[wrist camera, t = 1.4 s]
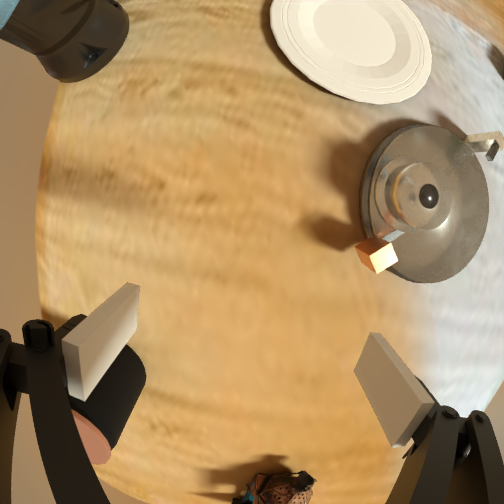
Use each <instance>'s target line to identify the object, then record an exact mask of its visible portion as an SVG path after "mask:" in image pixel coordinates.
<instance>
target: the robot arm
mask: <svg viewBox="0 0 504 504" xmlns="http://www.w3.org/2000/svg"><path fill="white" fill-rule="evenodd" d="M128 30H129V17H128V14H127V13H126V11H125V10H124V9H123V7H122V6H121V5H120V4H119V3H118V2H116V1H114V0H0V39H2V40H5V41H7V42H9V43H11V44H13V45H15V46H17V47H20V48H22V49H24V50H26V51H28V52H30V53H32V54H34V55H36V56H37V58H38V60H39V61H40V62H41V64H42V65H43V66H44V68H45V70H46V71H47V73H48V74H49V75H50V76H52V77H54V78H56V79H58V80H60V81H62V82H68V83H71V82H77V81H81V80H84V79H86V78H88V77H90V76H92V75H93V74H95V73H97V72H98V71H99V70H101V69H102V68H103V67H104V66H106V65H107V64H108V63H109V62H110V61H111V60H112V59H113V57H114V56H115V55H116V54H117V52H118V51H119V50H120V48H121V47H122V45H123V43H124V41H125V39H126V37H127V34H128ZM139 292H140V286H139V285H135V284H131V283H128V282H127V283H126V284H125V285H124V286H123V287H121V288H120V289H119V290H118V291H117V292H115V293H114V294H113V295H112V296H111V297H109V298H108V299H107V300H106V301H105V302H104V303H102V304H101V305H100V306H99V307H98V308H97V309H96V310H94V311H93V312H92V313H91V314H90V315H89V316H86V315H83V314H80V315H77V316H74V317H72V318H71V319H69V320H68V321H67V322H66V323H65V324H63V325H62V327H60V328H59V329H57V330H56V331H55V332H54V327H53V326H52V324H51V323H49V322H48V321H45V320H39V319H36V320H30V321H28V322H26V323H25V324H24V325H23V327H22V332H23V338H24V344H25V345H23V344H18V343H14V342H12V340H11V335H10V333H9V332H8V331H6V330H4V329H0V504H11V472H12V456H13V444H14V436H15V428H16V421H17V415H18V409H19V403H20V398H21V393H26V394H29V397H30V404H31V410H32V416H33V422H34V427H35V432H36V437H37V441H38V445H39V450H40V453H41V457H42V461H43V465H44V468H45V471H46V475H47V478H48V481H49V484H50V487H51V490H52V493H53V496H54V498H55V501H56V504H110V502H109V500H108V498H107V496H106V494H105V493H104V490H103V488H102V486H101V484H100V482H99V480H98V478H97V476H96V474H95V471H94V469H93V467H92V465H91V462H90V460H89V457H88V455H87V452H86V450H85V447H84V445H83V442H82V440H81V437H80V434H79V431H78V428H77V426H76V423H75V420H74V417H73V413H72V410H71V407H70V404H69V400H68V397H67V393H66V389H65V387H66V386H67V385H68V390H69V395H71V396H74V397H76V398H78V399H80V400H83V401H86V399H87V398H88V396H89V395H90V393H91V392H92V391H93V389H94V388H95V386H96V385H97V383H98V382H99V381H100V379H101V378H102V376H103V375H104V374H105V372H106V371H107V369H108V368H109V367H110V365H111V364H112V362H113V361H114V360H115V358H116V357H117V355H118V354H119V353H120V351H121V350H122V349H123V347H124V346H125V345H126V343H127V342H128V340H129V339H130V338H131V336H132V335H133V334H134V332H135V331H136V330H137V316H138V303H139ZM354 372H355V374H356V376H357V378H358V380H359V382H360V384H361V386H362V388H363V390H364V392H365V394H366V396H367V398H368V400H369V402H370V404H371V406H372V408H373V410H374V412H375V414H376V416H377V418H378V420H379V422H380V424H381V426H382V428H383V430H384V432H385V434H386V436H387V438H388V440H389V442H390V444H391V447H392V448H393V447H402V446H405V445H406V444H407V443H408V441H409V440H410V438H411V437H412V439H413V440H414V443H413V445H412V446H411V447H410V449H409V450H408V451H407V452H406V454H405V455H404V456H403V457H402V458H403V459H404V458H405V457H406V456H407V457H406V460H405V462H404V465H403V467H402V469H401V472H400V474H399V476H398V479H397V481H396V483H395V485H394V487H393V489H392V491H391V493H390V496H389V498H388V500H387V501H386V503H385V504H504V465H503V461H502V457H501V453H500V450H499V446H498V443H497V440H496V437H495V434H494V431H493V428H492V425H491V422H490V419H489V417H488V416H487V415H486V414H485V413H483V412H482V411H478V410H474V411H472V412H471V414H470V415H469V417H468V418H463V417H460V416H459V414H458V412H457V411H456V410H455V409H453V408H451V407H449V406H441V405H440V404H439V403H438V402H437V400H436V399H435V398H434V396H433V395H432V394H431V392H429V390H428V389H427V388H426V386H425V385H424V383H423V382H422V381H421V380H420V379H419V378H417V377H416V376H415V375H413V373H412V372H411V371H410V369H409V368H408V367H407V366H406V364H405V363H404V362H403V360H402V359H401V358H400V357H399V355H398V354H397V353H396V352H395V350H394V349H393V348H392V347H391V345H390V344H389V343H388V342H387V341H386V339H385V338H384V337H383V336H382V334H380V333H372V332H370V334H369V336H368V339H367V341H366V344H365V346H364V348H363V351H362V353H361V355H360V358H359V360H358V362H357V364H356V367H355V369H354ZM469 450H470V452H469V454H468V456H467V453H468V451H469Z"/></svg>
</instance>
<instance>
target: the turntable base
mask: <svg viewBox="0 0 504 504" xmlns="http://www.w3.org/2000/svg"><path fill="white" fill-rule="evenodd" d="M420 126H435V125H430V124H414V125H410V126H407V127H403V128H400V129H398V130H396V131H394V132H392V133H391V134H389V135H388V136H387V137H385V138H384V139H383V140H382V141H381V142H380V143H379V144H378V145H377V147H376V148H375V150H374V151H373V152H372V154H371V156H370V158H369V160H368V162H367V164H366V167H365V169H364V172H363V176H362V180H361V185H360V193H359V209H360V218H361V223H362V228H363V231H364V234H365V237H366V240H367V239H368V238H370V237H372V236H373V234H372V231H371V227H370V223H369V215H368V190H369V184H370V179H371V175H372V172H373V169H374V166H375V164H376V162H377V160H378V157H379V156H380V154H381V153H382V151H383V149H384V148H385V147H386V146H387V145H388V143H389V142H390V141H391V140H393V139H394V138H395V137H396V136H397V135H399V134H401V133H402V132H404V131H407V130H409V129H412V128H415V127H420ZM437 127H438V126H437ZM464 142H465V143H466V144H467V145H468V146H469V147H470V149H471V150H472V151H473V152H486V151H488V152H487V154H486V156H485V157H486V158H487V160H488V161H493V159H494V157H495V155H496V153H497V151H502V150H503V148H504V137H503V135H502V133H501V132H500V131H495V132H488V133H481V134H474V135H468V136H467V137H466V139H465V140H464ZM387 269H388V270H390V271H391V272H393V273H394V274H396V275H398V276H399V277H401V278H403V279H405V280H407V281H411V282H415V283H422V282H417V281H414V280H412V279H409V278H407V277H406V276H404V275H402V274H401V273H399V272H398V271H397V270H395V269H394V268H393V267H392V266H389V267H387Z"/></svg>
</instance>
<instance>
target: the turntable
mask: <svg viewBox="0 0 504 504" xmlns="http://www.w3.org/2000/svg"><path fill="white" fill-rule="evenodd" d="M405 156H408V157H413V158H416V159H419V160H420V161H422V162H423V163H425V162H427V163H432V164H435V165H437V166H438V167H439V168H441V169H442V170H443V171H444V173H445V174H446V176H447V177H448V179H449V181H450V184H451V188H452V195H453V199H452V207H451V210H450V213H449V215H448V217H447V219H446V220H445V221H444V222H443V223H442V224H441V225H440V226H439V227H437V228H435V229H431V230H424V229H421V230H419V231H416V232H411V233H408V232H402V231H399V230H396V229H394V228H392V227H390V226H389V225H387V224H386V223H385V222H384V220H383V219H382V218H381V216H380V215H379V213H378V211H377V208H376V205H375V201H374V185H375V180H376V177H377V175H378V173H379V171H380V170H381V168H382V167H383V166H384V165H385V164H386V163H387V162H388V161H390V160H392V159H394V158H398V157H405ZM488 214H489V196H488V188H487V183H486V179H485V175H484V173H483V170H482V167H481V165H480V163H479V161H478V159H477V157H476V156H475V154H474V153H473V151H472V150H471V149H470V147H469V146H468V145H467V144H466V143H465V142H464V141H463V140H462V139H461V138H460V137H458V136H457V135H456V134H454V133H452V132H451V131H449V130H447V129H444V128H441V127H437V126H420V127H415V128H412V129H409V130H407V131H404V132H402V133H401V134H399V135H397V136H396V137H395V138H394V139H393V140H391V141H390V142H389V143H388V145H387V146H386V147H385V148H384V149H383V151H382V153H381V154H380V156H379V157H378V160H377V162H376V164H375V166H374V169H373V172H372V175H371V179H370V184H369V190H368V215H369V223H370V227H371V231H372V234H373V236H372V237H370V238H368V239H367V240H365V241H363V242H361V243H360V244H358V245H356V246H355V249H356V251H357V253H358V256H359V258H360V260H361V262H362V263H363V264H364V265H366V266H367V267H368V268H370V269H371V270H372V271H374V272H375V273H376V274H378V273H379V272H381V271H383V270H384V269H386V268H387V267H389V266H392V267H393V268H394V269H395V270H397V271H398V272H399V273H401V274H402V275H404V276H406V277H407V278H409V279H412V280H414V281H417V282H422V283H435V282H440V281H444V280H447V279H449V278H451V277H453V276H454V275H456V274H457V273H459V272H460V271H461V270H462V269H463V268H464V267H466V265H467V264H468V263H469V262H470V261H471V260H472V258H473V257H474V255H475V254H476V252H477V250H478V248H479V247H480V244H481V242H482V240H483V237H484V234H485V231H486V227H487V222H488Z"/></svg>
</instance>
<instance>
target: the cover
mask: <svg viewBox="0 0 504 504" xmlns="http://www.w3.org/2000/svg"><path fill="white" fill-rule="evenodd" d="M452 199H453V195H452V188H451V184H450V181H449V179H448V177H447V176H446V174H445V173H444V171H443V170H442V169H441V168H439V167H438V166H437V165H435V164H432V163H427V162H425V163H423V162H422V161H420V160H419V159H416V158H413V157H408V156H405V157H398V158H394V159H392V160H390V161H388V162H387V163H386V164H385V165H384V166H383V167H382V168H381V170H380V171H379V173H378V175H377V177H376V180H375V185H374V201H375V205H376V208H377V211H378V213H379V215H380V216H381V218H382V219H383V220H384V222H385V223H386V224H387V225H389V226H390V227H392V228H394V229H396V230H399V231H402V232H408V233H411V232H416V231H419V230H421V229H424V230H431V229H435V228H437V227H439V226H440V225H441V224H442V223H443V222H444V221H445V220H446V219H447V217H448V215H449V213H450V210H451V207H452Z"/></svg>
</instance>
